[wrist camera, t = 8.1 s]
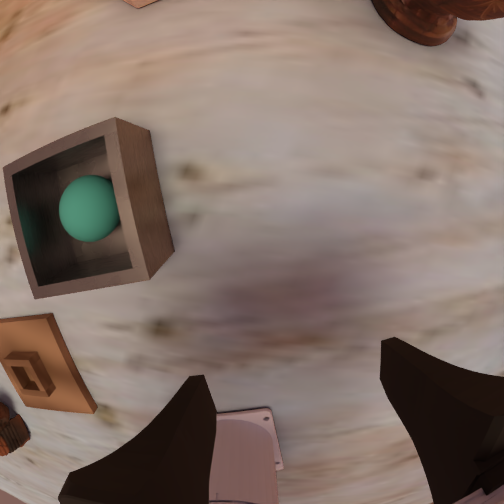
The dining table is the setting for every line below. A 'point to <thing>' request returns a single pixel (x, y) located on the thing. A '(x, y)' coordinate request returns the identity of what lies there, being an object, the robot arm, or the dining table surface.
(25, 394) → the stand
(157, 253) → the open box
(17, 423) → the pottery mug
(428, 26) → the mortar and pestle
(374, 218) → the dining table surface
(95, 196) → the ball
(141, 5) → the jar
